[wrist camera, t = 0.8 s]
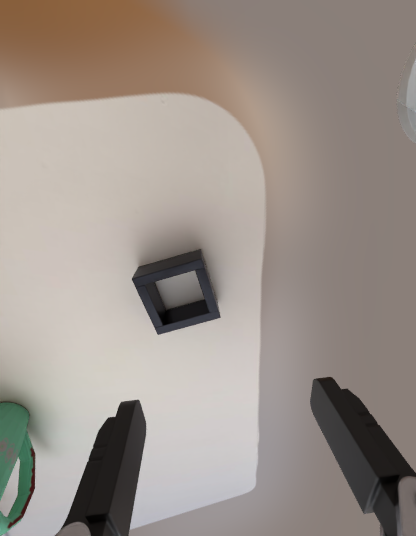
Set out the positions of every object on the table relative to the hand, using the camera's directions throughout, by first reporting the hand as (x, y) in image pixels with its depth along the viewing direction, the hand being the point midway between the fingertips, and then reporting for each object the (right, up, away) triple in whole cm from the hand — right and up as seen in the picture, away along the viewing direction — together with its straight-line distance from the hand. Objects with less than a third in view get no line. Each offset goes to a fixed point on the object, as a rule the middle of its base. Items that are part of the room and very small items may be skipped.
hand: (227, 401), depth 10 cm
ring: (-4, +4, +15) cm, 17 cm away
